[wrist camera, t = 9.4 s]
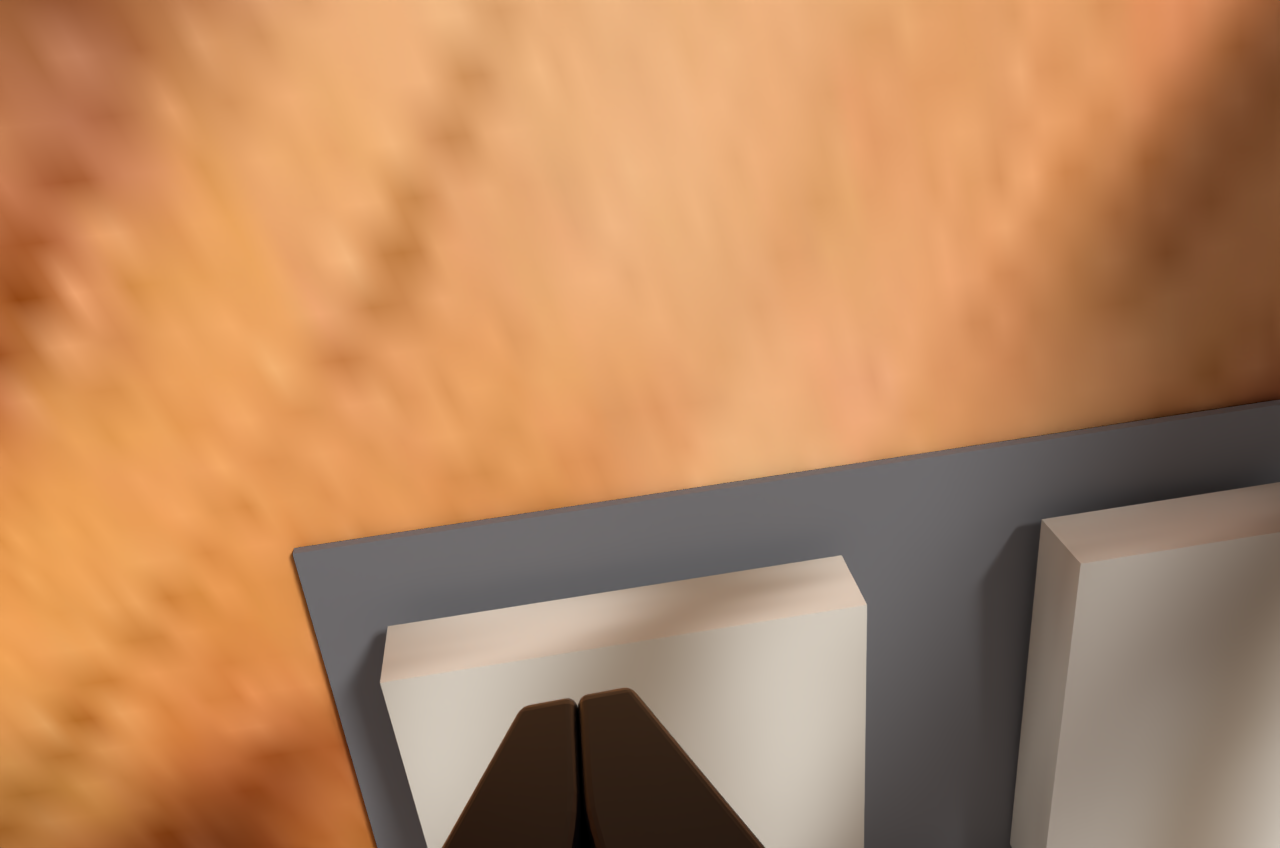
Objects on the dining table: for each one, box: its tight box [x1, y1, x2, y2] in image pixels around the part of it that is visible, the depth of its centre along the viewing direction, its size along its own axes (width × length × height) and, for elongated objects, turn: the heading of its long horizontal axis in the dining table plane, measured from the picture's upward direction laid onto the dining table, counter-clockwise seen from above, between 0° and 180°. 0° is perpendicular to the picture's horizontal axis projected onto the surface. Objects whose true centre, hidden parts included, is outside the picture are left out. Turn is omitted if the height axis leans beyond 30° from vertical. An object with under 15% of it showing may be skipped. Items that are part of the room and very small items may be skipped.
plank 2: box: [1010, 482, 1280, 848], centre depth 21 cm, size 8×9×2 cm
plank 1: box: [380, 555, 867, 848], centre depth 21 cm, size 8×9×2 cm
